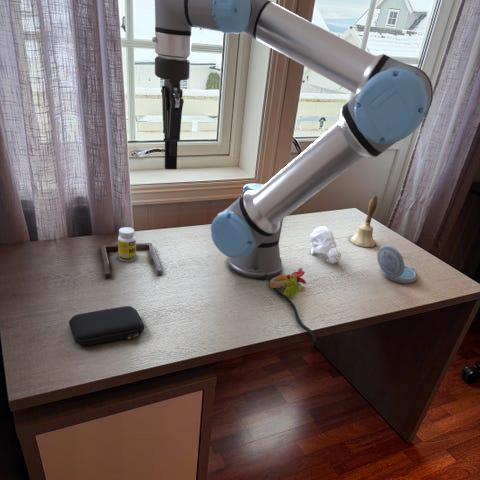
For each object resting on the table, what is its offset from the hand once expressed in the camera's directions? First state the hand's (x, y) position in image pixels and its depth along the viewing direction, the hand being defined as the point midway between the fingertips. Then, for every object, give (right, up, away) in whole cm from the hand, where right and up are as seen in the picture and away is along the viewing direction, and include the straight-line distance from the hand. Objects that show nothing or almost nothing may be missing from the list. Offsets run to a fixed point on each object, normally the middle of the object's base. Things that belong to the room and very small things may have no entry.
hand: (170, 168), depth 109 cm
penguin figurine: (+43, -18, +29) cm, 55 cm away
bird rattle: (+27, -29, +7) cm, 40 cm away
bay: (-13, -21, +14) cm, 28 cm away
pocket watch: (+64, -24, +24) cm, 73 cm away
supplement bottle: (-14, -20, +15) cm, 29 cm away
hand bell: (+58, -11, +42) cm, 73 cm away
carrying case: (-12, -40, -12) cm, 43 cm away
